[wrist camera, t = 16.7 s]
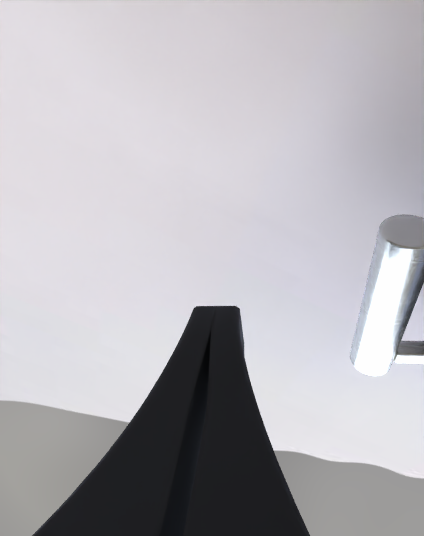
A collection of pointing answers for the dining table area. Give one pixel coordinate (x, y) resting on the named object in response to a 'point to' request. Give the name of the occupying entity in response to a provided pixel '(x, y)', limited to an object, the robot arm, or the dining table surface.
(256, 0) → the dining table surface
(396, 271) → the tray drawer
